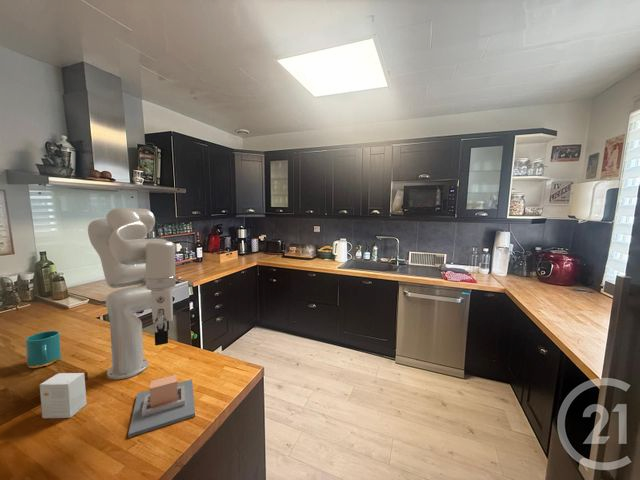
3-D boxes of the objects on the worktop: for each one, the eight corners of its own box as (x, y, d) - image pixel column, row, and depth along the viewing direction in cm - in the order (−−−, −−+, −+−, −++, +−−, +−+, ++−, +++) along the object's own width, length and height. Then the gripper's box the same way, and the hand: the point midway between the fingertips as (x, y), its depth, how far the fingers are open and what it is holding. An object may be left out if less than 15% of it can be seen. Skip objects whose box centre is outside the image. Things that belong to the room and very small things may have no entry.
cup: (27, 376, 92) (25, 346, 91) (27, 363, 100) (25, 335, 99) (62, 365, 99) (60, 337, 98) (60, 354, 107) (58, 328, 106)
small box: (87, 404, 79) (85, 372, 78) (70, 418, 73) (68, 384, 73) (60, 404, 79) (58, 372, 78) (41, 418, 73) (39, 384, 72)
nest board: (137, 396, 83) (137, 388, 83) (192, 381, 91) (192, 375, 91) (128, 437, 67) (127, 429, 67) (195, 416, 75) (194, 408, 75)
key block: (177, 395, 83) (176, 374, 82) (177, 402, 79) (177, 381, 79) (151, 402, 79) (151, 381, 79) (150, 410, 76) (149, 388, 75)
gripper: (175, 288, 70) (176, 347, 72) (175, 275, 85) (176, 324, 87) (142, 291, 67) (144, 353, 68) (148, 277, 82) (150, 328, 83)
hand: (162, 337), depth 78 cm, fingers open, 9 cm apart
